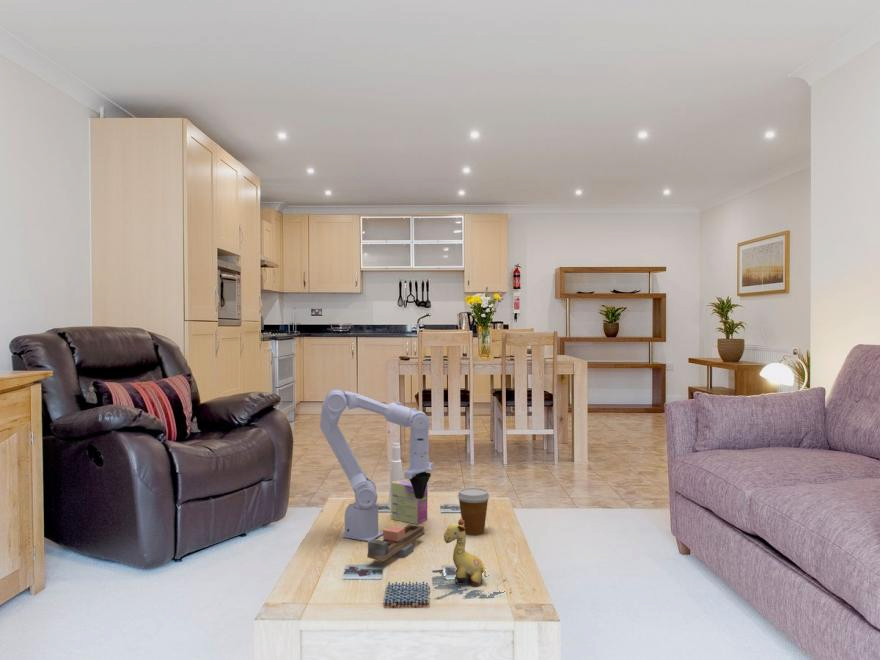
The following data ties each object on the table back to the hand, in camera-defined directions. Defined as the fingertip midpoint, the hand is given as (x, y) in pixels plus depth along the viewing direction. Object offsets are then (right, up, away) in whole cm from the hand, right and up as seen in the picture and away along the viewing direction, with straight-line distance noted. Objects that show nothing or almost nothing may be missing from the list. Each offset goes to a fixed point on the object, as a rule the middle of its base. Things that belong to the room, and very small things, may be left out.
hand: (419, 498), depth 179 cm
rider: (-6, -7, -17) cm, 20 cm away
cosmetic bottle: (-9, -11, +25) cm, 29 cm away
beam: (-5, -10, -16) cm, 20 cm away
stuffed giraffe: (+13, -11, -36) cm, 40 cm away
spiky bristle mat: (-1, -11, -43) cm, 45 cm away
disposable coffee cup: (+16, -11, +1) cm, 19 cm away
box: (-4, -11, +13) cm, 17 cm away
